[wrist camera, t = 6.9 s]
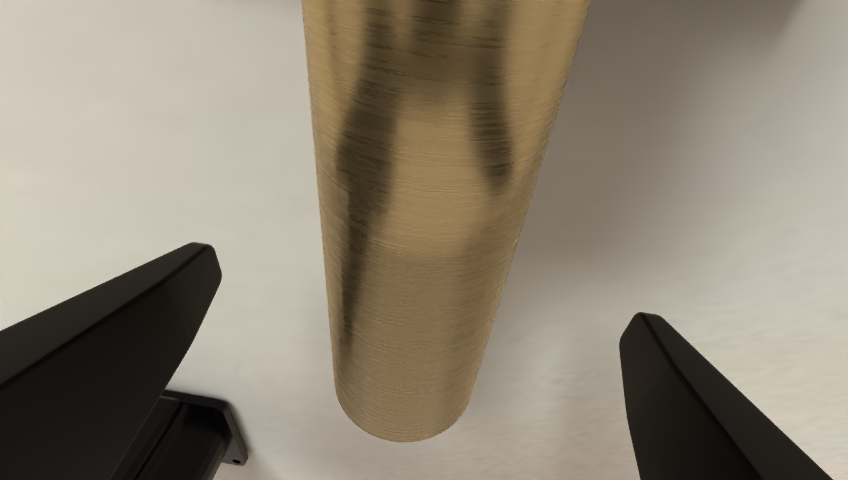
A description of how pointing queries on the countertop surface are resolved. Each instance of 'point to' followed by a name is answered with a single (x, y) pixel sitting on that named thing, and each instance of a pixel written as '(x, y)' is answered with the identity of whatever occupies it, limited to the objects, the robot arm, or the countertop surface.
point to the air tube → (426, 186)
